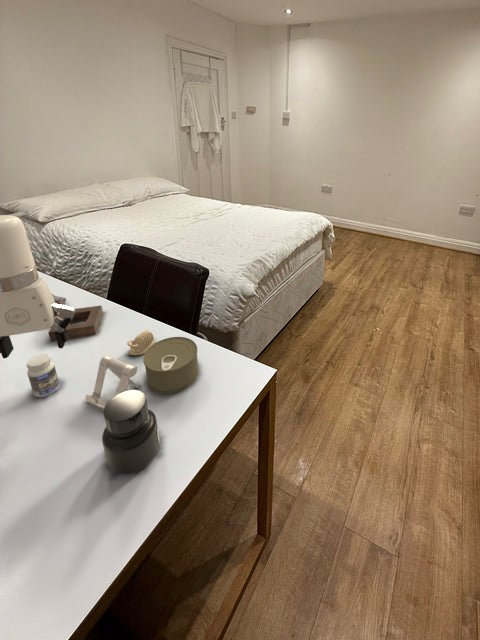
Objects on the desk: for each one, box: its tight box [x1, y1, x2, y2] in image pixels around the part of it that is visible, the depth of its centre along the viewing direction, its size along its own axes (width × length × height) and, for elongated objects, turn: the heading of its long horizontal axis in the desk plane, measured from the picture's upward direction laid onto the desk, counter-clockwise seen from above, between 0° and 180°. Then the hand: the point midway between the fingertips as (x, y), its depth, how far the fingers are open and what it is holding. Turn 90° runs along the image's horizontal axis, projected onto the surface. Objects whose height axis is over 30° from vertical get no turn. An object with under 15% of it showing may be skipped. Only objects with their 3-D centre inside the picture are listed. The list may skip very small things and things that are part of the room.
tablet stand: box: [85, 355, 139, 410], centre depth 71 cm, size 9×8×8 cm
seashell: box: [51, 293, 67, 306], centre depth 101 cm, size 5×5×10 cm
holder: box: [48, 305, 104, 342], centre depth 94 cm, size 11×11×3 cm
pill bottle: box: [26, 353, 60, 398], centre depth 72 cm, size 5×5×8 cm
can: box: [143, 336, 199, 395], centre depth 78 cm, size 12×12×7 cm
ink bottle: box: [101, 389, 161, 475], centre depth 59 cm, size 10×9×12 cm
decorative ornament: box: [126, 330, 155, 356], centre depth 86 cm, size 4×8×5 cm, turn 157°
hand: (36, 349), depth 69 cm, fingers open, 9 cm apart
